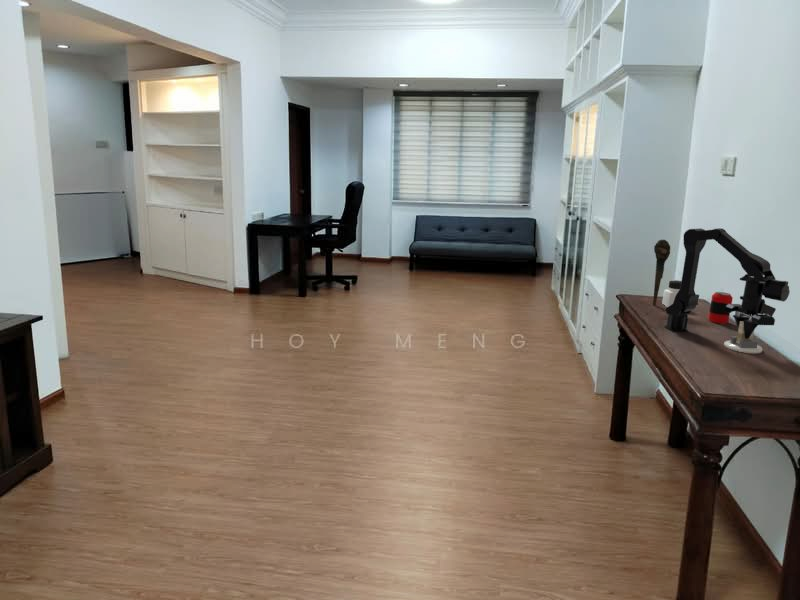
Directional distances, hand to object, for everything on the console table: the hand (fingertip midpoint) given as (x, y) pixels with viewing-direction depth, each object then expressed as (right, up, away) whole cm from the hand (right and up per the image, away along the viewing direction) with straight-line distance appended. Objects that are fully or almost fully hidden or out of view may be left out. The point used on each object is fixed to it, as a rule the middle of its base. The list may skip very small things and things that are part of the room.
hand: (744, 337), depth 214 cm
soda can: (+10, +4, +36) cm, 38 cm away
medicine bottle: (+1, +10, +59) cm, 60 cm away
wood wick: (0, -2, +1) cm, 2 cm away
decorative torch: (-7, +11, +60) cm, 61 cm away
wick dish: (0, -4, +1) cm, 4 cm away
